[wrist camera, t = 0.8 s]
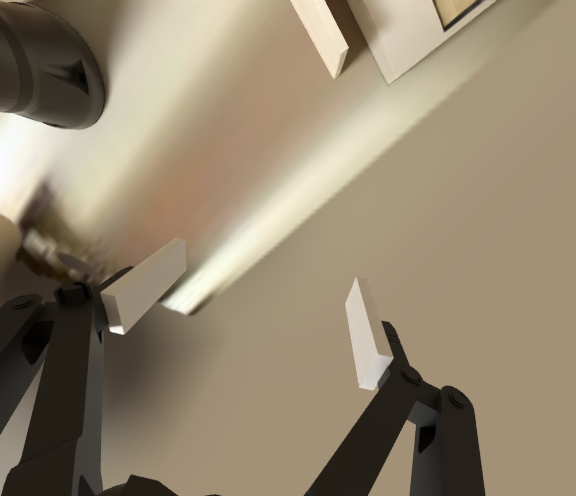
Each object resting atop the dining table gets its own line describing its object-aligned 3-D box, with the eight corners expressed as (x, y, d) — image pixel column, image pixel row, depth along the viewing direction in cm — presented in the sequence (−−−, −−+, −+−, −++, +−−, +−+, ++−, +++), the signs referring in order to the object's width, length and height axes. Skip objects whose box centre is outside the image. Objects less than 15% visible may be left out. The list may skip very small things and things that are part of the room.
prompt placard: (273, -31, 27) (247, -126, 18) (279, -39, 27) (256, -140, 17) (334, 80, 31) (341, 54, 22) (340, 74, 31) (350, 45, 21)
